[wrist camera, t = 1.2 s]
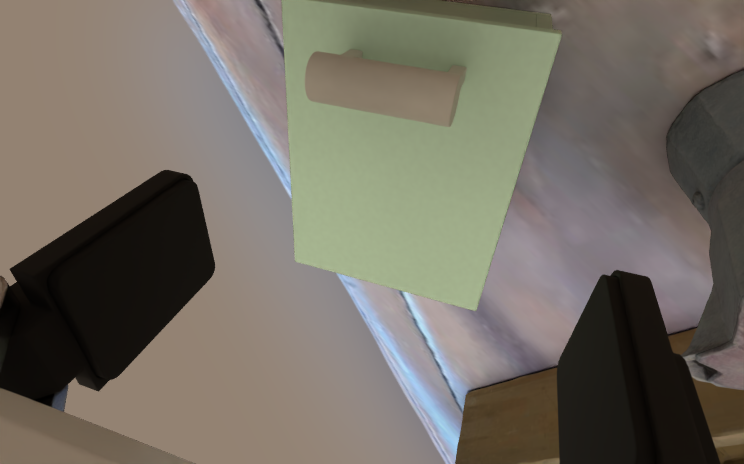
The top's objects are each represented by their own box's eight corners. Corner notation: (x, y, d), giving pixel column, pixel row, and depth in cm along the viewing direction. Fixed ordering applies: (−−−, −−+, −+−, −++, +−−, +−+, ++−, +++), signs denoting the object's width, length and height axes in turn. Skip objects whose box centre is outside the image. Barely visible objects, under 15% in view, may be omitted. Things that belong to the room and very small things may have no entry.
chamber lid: (288, -6, 21) (221, 11, 16) (561, 30, 18) (567, 62, 14) (299, 254, 31) (259, 308, 26) (477, 303, 28) (465, 372, 24)
